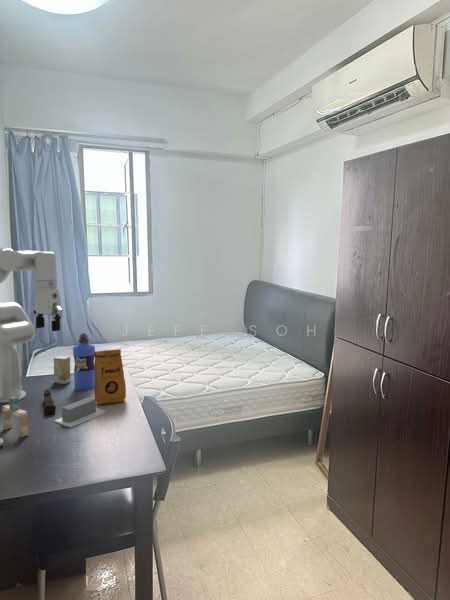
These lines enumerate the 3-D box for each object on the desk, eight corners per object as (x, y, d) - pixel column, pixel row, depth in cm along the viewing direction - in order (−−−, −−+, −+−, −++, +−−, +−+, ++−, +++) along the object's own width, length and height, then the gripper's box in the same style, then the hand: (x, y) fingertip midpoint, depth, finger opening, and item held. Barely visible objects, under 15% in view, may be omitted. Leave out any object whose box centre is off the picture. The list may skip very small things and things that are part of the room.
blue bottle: (80, 383, 189) (78, 331, 186) (99, 384, 188) (98, 332, 185) (70, 390, 180) (68, 335, 177) (90, 391, 179) (88, 336, 176)
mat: (54, 421, 148) (54, 420, 148) (90, 407, 162) (90, 406, 162) (70, 427, 143) (70, 426, 143) (105, 412, 157) (105, 411, 157)
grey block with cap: (62, 420, 148) (61, 407, 147) (91, 408, 159) (90, 396, 158) (69, 423, 146) (68, 409, 145) (98, 411, 157) (97, 398, 156)
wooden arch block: (3, 428, 142) (1, 395, 140) (9, 426, 143) (7, 393, 142) (22, 437, 136) (20, 402, 134) (28, 434, 137) (26, 400, 136)
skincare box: (53, 383, 190) (52, 357, 188) (58, 380, 194) (57, 355, 192) (66, 384, 189) (65, 358, 187) (71, 381, 193) (70, 356, 191)
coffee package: (127, 403, 166) (126, 351, 163) (95, 407, 162) (93, 354, 159) (124, 395, 175) (123, 345, 172) (93, 399, 171) (92, 348, 168)
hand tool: (56, 414, 155) (55, 402, 155) (44, 416, 153) (44, 404, 153) (54, 397, 172) (53, 387, 172) (43, 399, 170) (43, 388, 170)
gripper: (69, 285, 151) (71, 330, 153) (41, 282, 160) (43, 325, 162) (51, 286, 145) (53, 333, 147) (23, 283, 154) (25, 328, 156)
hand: (48, 329), depth 155 cm, fingers open, 9 cm apart
